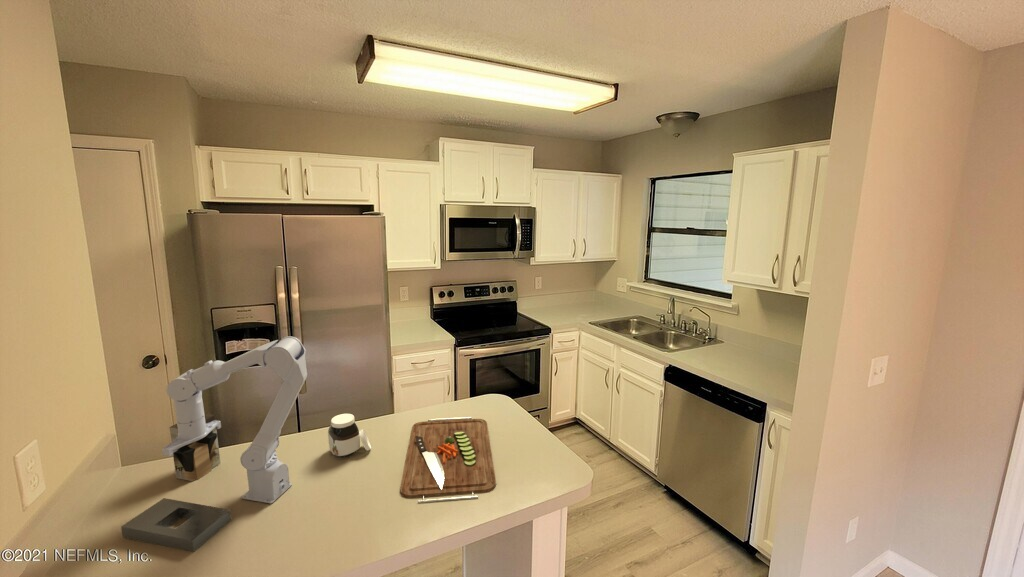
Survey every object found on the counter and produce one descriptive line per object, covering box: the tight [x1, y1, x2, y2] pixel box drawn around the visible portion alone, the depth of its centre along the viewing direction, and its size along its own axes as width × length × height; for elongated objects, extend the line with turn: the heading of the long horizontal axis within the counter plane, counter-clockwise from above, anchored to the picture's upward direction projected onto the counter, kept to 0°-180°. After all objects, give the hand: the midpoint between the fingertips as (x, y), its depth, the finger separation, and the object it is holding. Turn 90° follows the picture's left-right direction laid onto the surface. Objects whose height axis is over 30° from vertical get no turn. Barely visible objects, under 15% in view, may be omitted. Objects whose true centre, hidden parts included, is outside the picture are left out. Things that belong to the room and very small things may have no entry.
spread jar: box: [327, 413, 372, 459], centre depth 133 cm, size 12×11×12 cm
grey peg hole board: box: [120, 497, 232, 553], centre depth 100 cm, size 20×10×3 cm, turn 79°
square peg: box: [183, 442, 212, 481], centre depth 110 cm, size 4×4×8 cm
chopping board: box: [399, 416, 497, 504], centre depth 133 cm, size 45×27×3 cm, turn 8°
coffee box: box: [169, 413, 221, 482], centre depth 121 cm, size 9×6×16 cm
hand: (197, 465), depth 110 cm, fingers closed on square peg, 4 cm apart
